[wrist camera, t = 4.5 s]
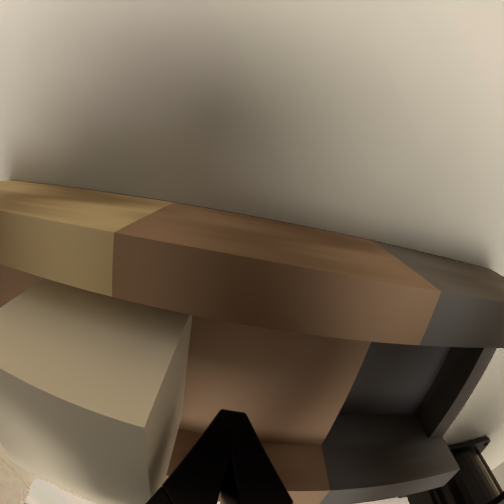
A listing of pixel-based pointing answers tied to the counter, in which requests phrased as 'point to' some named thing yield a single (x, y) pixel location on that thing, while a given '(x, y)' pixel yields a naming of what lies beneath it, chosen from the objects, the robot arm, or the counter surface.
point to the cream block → (91, 390)
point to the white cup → (13, 480)
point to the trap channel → (281, 329)
